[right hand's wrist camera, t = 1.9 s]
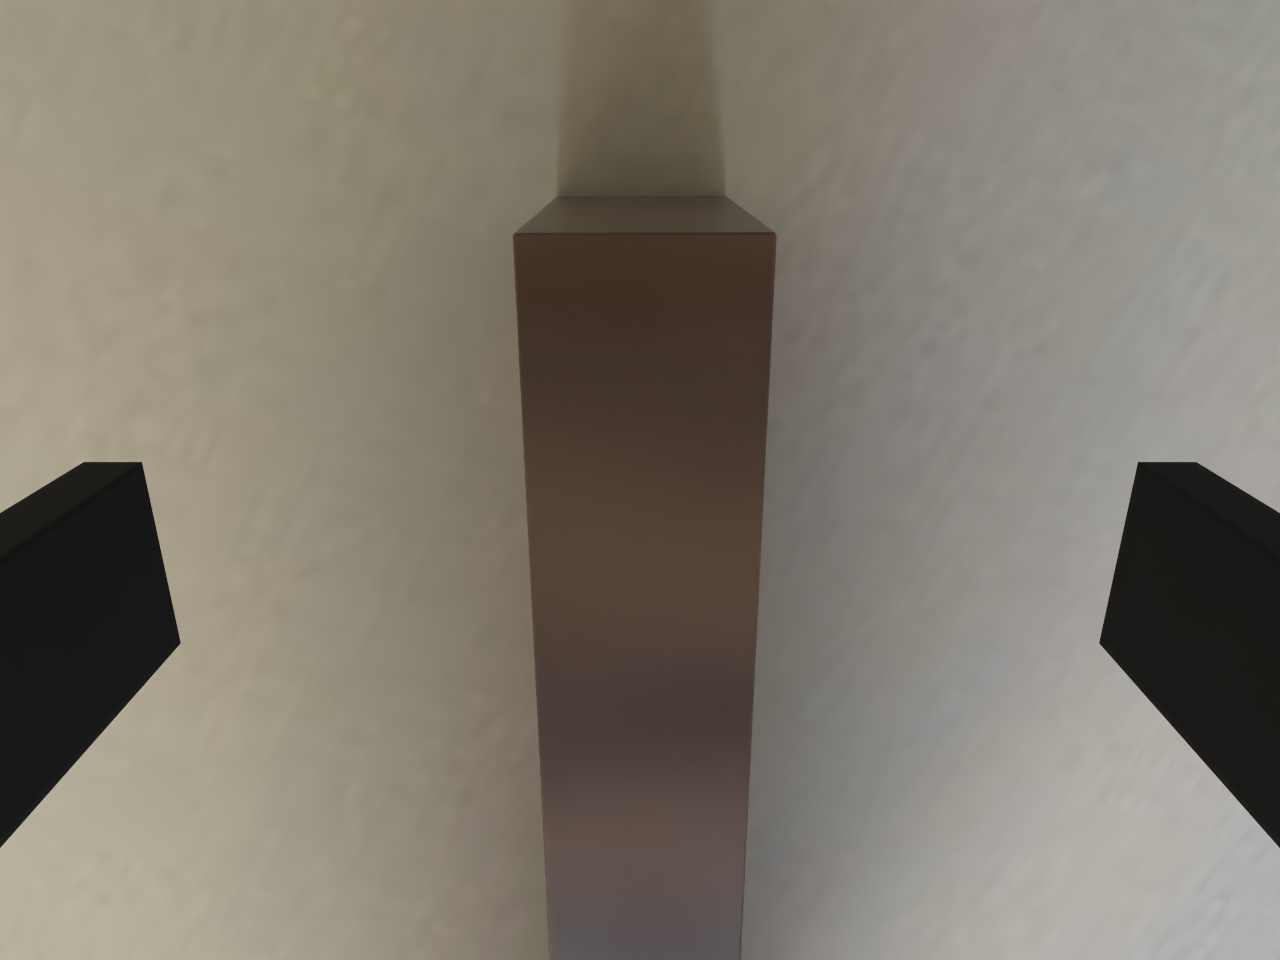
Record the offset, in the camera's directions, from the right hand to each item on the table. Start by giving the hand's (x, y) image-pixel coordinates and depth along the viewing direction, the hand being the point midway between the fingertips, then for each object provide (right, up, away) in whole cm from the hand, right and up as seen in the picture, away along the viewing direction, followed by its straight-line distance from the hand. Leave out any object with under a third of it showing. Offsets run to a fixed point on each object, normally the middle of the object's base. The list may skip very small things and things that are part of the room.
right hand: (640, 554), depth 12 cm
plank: (0, -7, +20) cm, 21 cm away
